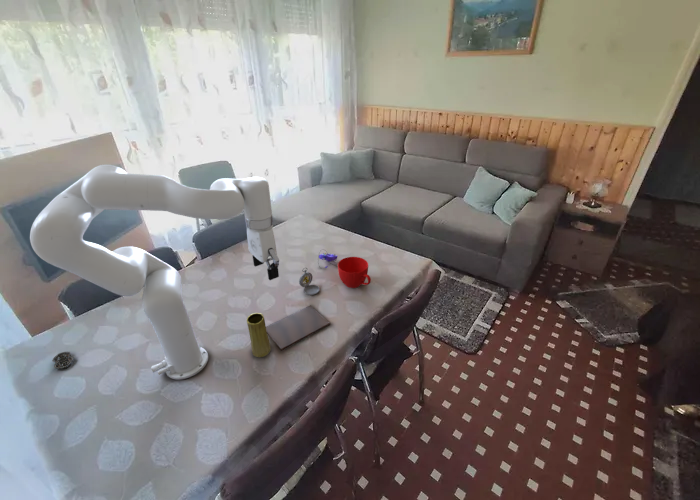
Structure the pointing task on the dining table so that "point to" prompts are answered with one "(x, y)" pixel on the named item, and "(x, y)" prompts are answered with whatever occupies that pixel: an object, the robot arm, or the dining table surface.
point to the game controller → (328, 257)
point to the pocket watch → (308, 288)
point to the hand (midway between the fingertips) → (266, 271)
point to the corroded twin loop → (62, 360)
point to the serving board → (296, 327)
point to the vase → (258, 335)
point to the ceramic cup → (353, 271)
